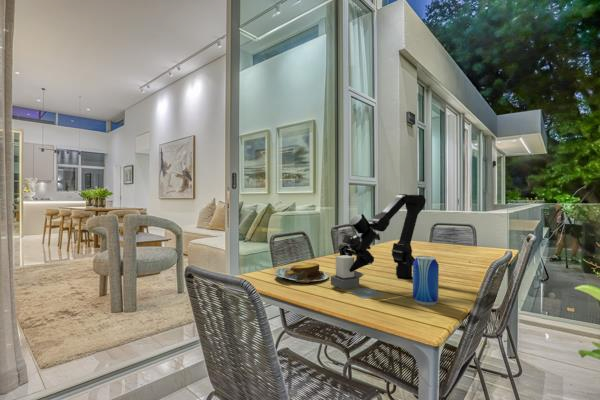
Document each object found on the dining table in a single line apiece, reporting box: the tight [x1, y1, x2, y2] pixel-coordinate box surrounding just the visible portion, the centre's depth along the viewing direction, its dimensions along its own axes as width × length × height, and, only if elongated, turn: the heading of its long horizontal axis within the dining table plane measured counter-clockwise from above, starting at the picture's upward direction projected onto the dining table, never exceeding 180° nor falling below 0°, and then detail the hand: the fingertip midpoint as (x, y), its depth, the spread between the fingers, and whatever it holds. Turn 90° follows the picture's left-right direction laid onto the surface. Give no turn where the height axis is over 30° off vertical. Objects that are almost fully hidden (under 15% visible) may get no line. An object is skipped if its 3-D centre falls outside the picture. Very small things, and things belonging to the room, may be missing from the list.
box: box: [335, 255, 355, 280], centre depth 131 cm, size 5×5×12 cm
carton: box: [325, 270, 365, 290], centre depth 131 cm, size 14×8×5 cm, turn 117°
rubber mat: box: [347, 287, 385, 299], centre depth 121 cm, size 10×10×1 cm
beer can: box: [412, 255, 440, 306], centre depth 112 cm, size 8×8×16 cm
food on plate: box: [273, 262, 330, 284], centre depth 144 cm, size 25×25×7 cm
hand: (343, 269), depth 130 cm, fingers open, 9 cm apart
